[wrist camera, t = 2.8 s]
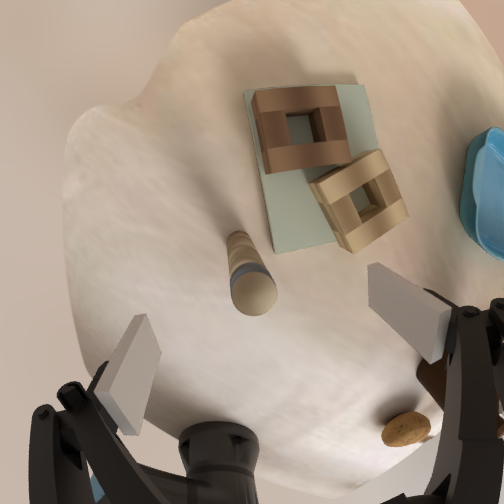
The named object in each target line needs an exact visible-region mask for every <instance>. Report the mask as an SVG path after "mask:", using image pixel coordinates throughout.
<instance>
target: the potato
mask: <svg viewBox="0 0 504 504" xmlns="http://www.w3.org/2000/svg"><path fill="white" fill-rule="evenodd" d="M430 430H431V425H430V421H429V419H428V418H427V417H426V416H424V415H422V414H420V413H418V412H407V413H403V414H400V415H398V416H397V417H395V418H394V419H393V420H391V421H390V422H389V423H388V424H386V426H385V428H384V430H383V431H382V435H381V437H382V440H383V442H384V444H385V445H387V446H390V447H402V446H406V445H409V444H413V443H416V442H419V441H421V440H422V439H424V438H425V437H426V436H427V435H428V433H429V432H430Z"/></svg>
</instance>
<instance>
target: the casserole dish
mask: <svg viewBox="0 0 504 504" xmlns="http://www.w3.org/2000/svg"><path fill="white" fill-rule="evenodd" d="M460 218H461V222H462V225H463V227H464V229H465V231H466V232H467V234H468V235H469V236H470V237H471V238H472V239H473V240H474V241H475V242H476V243H477V244H478V245H479V246H481V247H482V248H483V250H485V251H486V252H487V253H488V254H490V255H491V256H493V257H495V258H497V259H499V260H502V261H504V131H503V130H502V129H500V128H498V127H491V128H489V129H488V130H486V131H485V132H483V133H481V134H480V135H478V136H477V137H475V138H474V139H473V141H472V142H471V144H470V146H469V148H468V152H467V157H466V165H465V173H464V180H463V187H462V193H461V201H460Z"/></svg>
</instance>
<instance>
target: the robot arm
mask: <svg viewBox="0 0 504 504" xmlns="http://www.w3.org/2000/svg"><path fill="white" fill-rule="evenodd" d="M368 296H369V307H370V308H372V309H373V310H374V311H375V312H376V313H377V314H378V315H379V316H380V317H381V318H382V319H383V320H384V321H386V322H387V323H388V324H389V325H390V326H391V327H392V328H393V329H394V330H395V331H396V332H397V333H398V334H399V335H400V336H401V337H403V338H404V339H405V340H406V341H407V342H408V343H409V344H410V345H411V346H412V347H413V348H414V349H415V350H416V351H417V352H418V353H419V354H420V355H421V356H422V357H423V358H424V359H425V360H426V361H427V362H428V363H429V364H432V363H434V362H436V361H437V360H439V359H441V358H442V355H443V351H444V348H446V349H447V350H448V351H449V354H448V358H447V361H446V365H445V369H444V370H446V369H447V383H446V397H445V407H444V415H443V423H442V429H441V436H440V441H439V447H438V452H437V456H436V461H435V465H434V469H433V473H432V477H431V479H430V482H429V484H428V486H427V488H426V490H425V492H424V495H418V496H412V497H407V498H406V496H405V494H404V493H402V494H400V495H398V496H396V497H394V498H392V499H390V500H388V501H386V502H383V503H381V504H498V502H499V497H500V491H501V484H502V476H503V464H504V440H503V439H502V438H498V437H497V412H496V394H495V388H496V391H497V393H498V396H499V399H500V402H501V405H502V408H503V411H504V343H503V340H504V298H496V299H493V300H492V301H491V304H490V309H489V310H485V311H480V310H479V309H478V308H477V307H474V306H463V307H458V306H456V305H455V304H453V303H452V302H450V301H449V300H447V299H444V297H442V296H439V294H437V293H436V292H434V291H432V290H429V289H425V288H424V289H422V288H420V287H419V286H417V285H415V284H414V283H412V282H410V281H409V280H407V279H406V278H404V277H402V276H401V275H399V274H397V273H396V272H394V271H392V270H390V269H389V268H387V267H385V266H384V265H382V264H380V263H374V264H370V265H368ZM161 353H162V352H161V350H160V347H159V345H158V342H157V340H156V338H155V335H154V333H153V330H152V327H151V325H150V322H149V320H148V317H147V314H141V315H135V316H134V318H133V319H132V321H131V323H130V324H129V326H128V328H127V330H126V331H125V333H124V335H123V337H122V339H121V340H120V342H119V344H118V346H117V348H116V350H115V351H114V353H113V355H112V357H111V359H110V361H105V362H104V363H103V364H102V365H101V366H100V367H99V368H98V370H97V372H96V375H95V376H94V378H93V380H92V381H91V383H90V385H89V387H88V389H87V391H85V389H84V388H83V386H82V385H81V383H80V382H76V381H74V382H69V383H66V384H65V385H64V386H62V387H61V388H60V389H59V390H58V392H57V398H58V400H59V401H60V402H61V404H62V405H63V406H64V408H65V409H66V410H63V411H59V412H56V411H55V409H54V408H53V407H52V406H51V405H49V404H45V405H42V406H40V407H38V408H37V409H36V410H35V411H34V413H33V416H32V424H31V432H30V444H29V500H30V504H259V503H258V497H257V492H256V486H255V480H254V470H255V466H256V462H257V458H258V454H259V443H258V438H257V436H256V435H255V434H254V433H253V432H252V431H251V430H249V429H248V428H246V427H243V426H241V425H238V424H233V423H228V422H206V423H201V424H197V425H194V426H191V427H189V428H187V429H186V430H185V431H183V432H182V434H181V435H180V438H179V447H178V448H179V453H180V456H181V459H182V462H183V464H184V468H185V470H186V477H184V476H180V475H175V474H172V473H168V472H164V471H161V470H158V469H154V468H151V467H148V466H145V465H142V464H139V463H137V462H136V461H135V459H134V458H133V457H132V455H131V454H130V453H129V451H128V450H127V448H126V447H125V445H124V444H123V442H122V441H121V440H120V438H119V437H118V435H117V434H116V432H117V429H118V428H119V429H120V430H121V432H122V433H123V434H124V435H139V433H140V429H141V426H142V421H143V418H144V414H145V410H146V406H147V402H148V399H149V395H150V391H151V388H152V384H153V380H154V377H155V373H156V370H157V367H158V363H159V360H160V356H161ZM86 459H87V461H88V463H89V465H90V467H91V469H92V471H93V475H92V477H91V479H90V477H89V472H88V466H87V461H86Z"/></svg>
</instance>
